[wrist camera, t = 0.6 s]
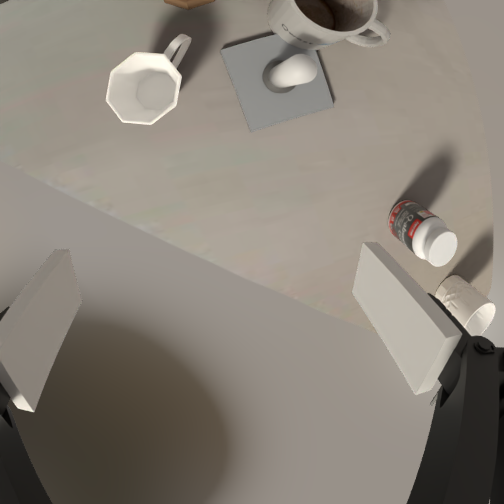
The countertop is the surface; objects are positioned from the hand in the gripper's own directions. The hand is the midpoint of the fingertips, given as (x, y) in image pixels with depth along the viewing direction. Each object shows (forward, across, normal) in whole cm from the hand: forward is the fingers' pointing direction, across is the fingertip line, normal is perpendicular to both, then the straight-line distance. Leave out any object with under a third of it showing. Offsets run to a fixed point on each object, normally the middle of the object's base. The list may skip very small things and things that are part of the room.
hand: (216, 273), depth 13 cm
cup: (+24, -5, +10) cm, 27 cm away
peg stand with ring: (+24, +7, +10) cm, 27 cm away
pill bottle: (+24, +26, -6) cm, 36 cm away
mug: (+25, +12, +17) cm, 32 cm away
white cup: (+24, +41, -20) cm, 52 cm away
